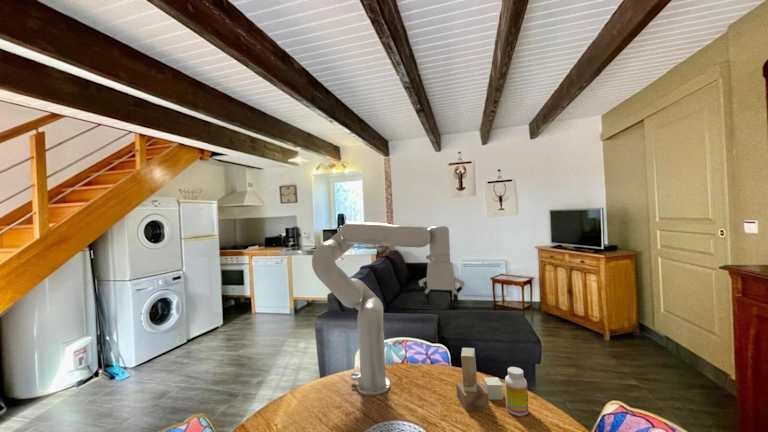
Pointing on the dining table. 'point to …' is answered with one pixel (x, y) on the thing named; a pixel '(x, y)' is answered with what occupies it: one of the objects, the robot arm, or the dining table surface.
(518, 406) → the supplement bottle
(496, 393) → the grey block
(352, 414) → the dining table surface
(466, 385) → the skincare box
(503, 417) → the dining table surface
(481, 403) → the walnut block
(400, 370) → the dining table surface
